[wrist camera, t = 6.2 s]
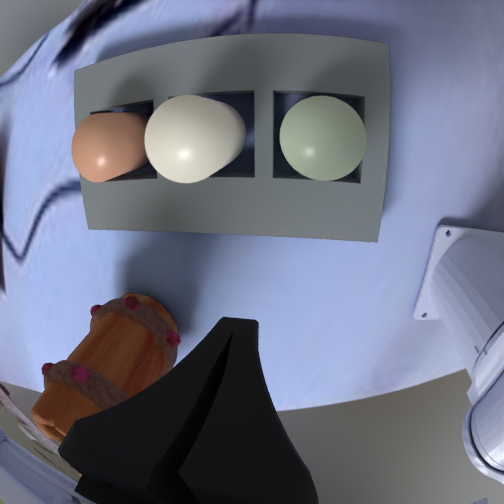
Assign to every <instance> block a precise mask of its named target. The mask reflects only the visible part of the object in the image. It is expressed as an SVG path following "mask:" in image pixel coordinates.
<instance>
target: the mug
mask: <svg viewBox="0 0 504 504" xmlns="http://www.w3.org/2000/svg"><path fill="white" fill-rule="evenodd" d="M90 312H91V315H92V319H91V323H90V332H89V333H88V335H87V336H86V337H85V338H84V339H83V340H82V342H81V343H80V344H79V345H78V346H77V347H76V349H75V350H74V351H73V352H72V353H71V354H70V355H69V357H68V358H67V360H63V361H60V362H58V363H56V364H53V363H45V364H44V365H43V367H42V374H43V375H44V388H45V390H44V392H43V393H42V395H41V396H40V398H39V399H38V401H37V402H36V404H35V405H34V407H33V408H32V411H31V415H32V416H33V418H34V419H35V422H36V425H37V426H38V427H39V428H40V430H41V431H42V432H43V433H44V434H45V435H46V436H47V437H48V438H50V439H53V440H56V441H58V442H59V444H60V445H61V443H62V441H63V439H64V438H65V436H66V434H67V432H68V431H69V429H70V427H71V426H72V425H73V423H74V422H75V420H78V419H81V418H84V417H87V416H90V415H93V414H95V413H98V412H101V411H103V410H106V409H108V408H110V407H112V406H114V405H116V404H118V403H120V402H122V401H124V400H126V399H128V398H130V397H132V396H134V395H135V394H137V393H139V392H140V391H142V390H144V389H145V388H147V387H148V386H150V385H151V384H153V383H154V382H156V381H157V380H158V379H160V378H161V377H162V376H164V375H165V374H166V373H167V372H169V371H170V370H171V369H172V368H173V366H174V364H175V362H176V358H177V346H178V345H179V343H180V337H179V335H178V327H177V325H176V323H175V321H174V320H173V318H172V317H171V315H170V313H169V312H168V311H167V310H166V309H165V307H164V306H163V305H162V304H160V303H159V302H157V301H156V300H154V299H152V298H151V297H149V296H147V295H141V294H135V293H128V294H125V295H123V296H122V297H121V298H117V299H113V300H111V301H109V302H107V303H106V304H104V305H102V306H101V305H95V306H93V307H92V308H91V311H90ZM79 474H80V473H79ZM81 476H82V474H80V477H81Z"/></svg>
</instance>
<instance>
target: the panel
mask: <svg viewBox="0 0 504 504" xmlns="http://www.w3.org/2000/svg"><path fill="white" fill-rule="evenodd" d="M236 94H254V122H255V172H215V173H213V174H212V175H210V176H209V177H207V178H205V179H203V180H201V181H198V182H194V183H179V182H175V181H172V180H169V179H167V178H165V177H164V176H162V175H161V174H160V173H159V172H158V171H157V173H154V174H137V175H123V176H117V177H114V178H112V179H109V180H107V181H104V182H92V181H89V180H87V179H86V178H84V177H83V176H82V175H81V174H80V173H79V175H80V182H81V189H82V196H83V202H84V208H85V214H86V219H87V225H88V229H92V230H130V231H161V232H188V233H213V234H235V235H256V236H276V237H295V238H313V239H330V240H346V241H362V242H378V236H379V230H380V223H381V216H382V209H383V201H384V193H385V184H386V174H387V163H388V150H389V132H390V57H389V44H384V43H379V42H374V41H368V40H362V39H355V38H347V37H339V36H328V35H316V34H296V33H259V34H239V35H226V36H216V37H208V38H200V39H193V40H186V41H180V42H175V43H169V44H164V45H160V46H155V47H150V48H146V49H142V50H138V51H134V52H130V53H127V54H123V55H120V56H116V57H113V58H110V59H106V60H103V61H100V62H97V63H94V64H91V65H89V66H86V67H83V68H80V69H78V70H75V75H74V109H75V131H76V129H77V127H78V125H79V124H80V123H81V122H82V121H83V120H84V119H85V118H86V117H88V116H90V115H93V114H98V113H107V111H110V110H115V109H120V108H125V107H130V106H135V105H141V104H147V103H153V107H154V111H155V110H156V109H157V108H158V107H159V106H160V105H161V104H162V103H164V102H165V101H167V100H169V99H171V98H173V97H176V96H181V95H196V96H200V97H204V96H217V95H236ZM275 94H298V95H317V96H330V97H341V98H350V99H357V114H358V115H359V116H360V118H361V120H362V122H363V124H364V127H365V130H366V136H367V143H366V150H365V153H364V156H363V158H362V160H361V162H360V163H359V165H358V166H357V167H356V168H355V172H354V177H345V176H344V177H342V178H339V179H336V180H330V181H320V180H314V179H311V178H308V177H306V176H304V175H302V174H300V173H278V172H275Z"/></svg>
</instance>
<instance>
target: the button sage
mask: <svg viewBox="0 0 504 504" xmlns="http://www.w3.org/2000/svg"><path fill="white" fill-rule="evenodd" d="M366 143H367V136H366V130H365V127H364V124H363V122H362V120H361V118H360V116H359V115H358V114H357V112H356V111H355V110H354V109H353V108H352V107H351V106H349V105H348V104H347V103H345V102H343V101H342V100H339V99H337V98H334V97H330V96H313V97H309V98H306V99H303V100H301V101H300V102H298V103H296V104H295V105H294V106H293V107H292V108H291V109H290V110H289V111H288V112H287V114H286V115H285V117H284V119H283V122H282V124H281V129H280V144H281V148H282V151H283V154H284V156H285V158H286V159H287V161H288V162H289V164H290V165H291V166H292V167H293V168H294V169H295V170H296V171H298V172H299V173H300V174H302V175H304V176H306V177H308V178H311V179H314V180H320V181H330V180H336V179H339V178H342V177H344V176H346V175H348V174H349V173H350V172H352V171H353V170H354V169H355V168H356V167H357V166H358V165H359V163H360V162H361V160H362V158H363V156H364V153H365V150H366Z"/></svg>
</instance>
